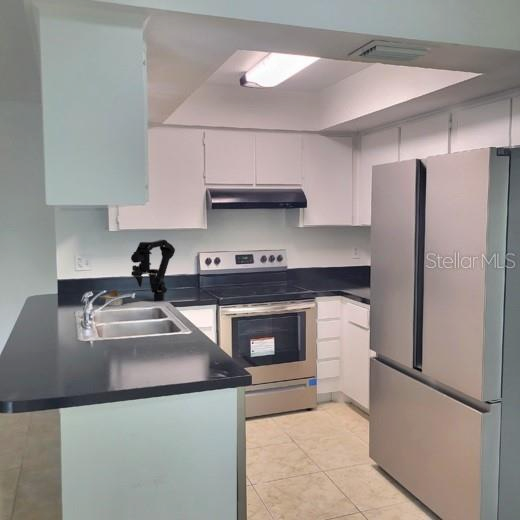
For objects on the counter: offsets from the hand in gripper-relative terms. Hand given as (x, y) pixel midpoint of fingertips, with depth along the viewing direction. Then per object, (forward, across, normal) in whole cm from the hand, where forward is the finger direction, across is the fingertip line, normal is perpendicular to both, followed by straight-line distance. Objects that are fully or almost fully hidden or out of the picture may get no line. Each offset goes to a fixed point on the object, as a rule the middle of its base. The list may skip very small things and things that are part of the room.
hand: (145, 285), depth 330 cm
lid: (+7, +13, -15) cm, 21 cm away
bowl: (+12, +13, -15) cm, 23 cm away
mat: (+12, +3, -1) cm, 12 cm away
